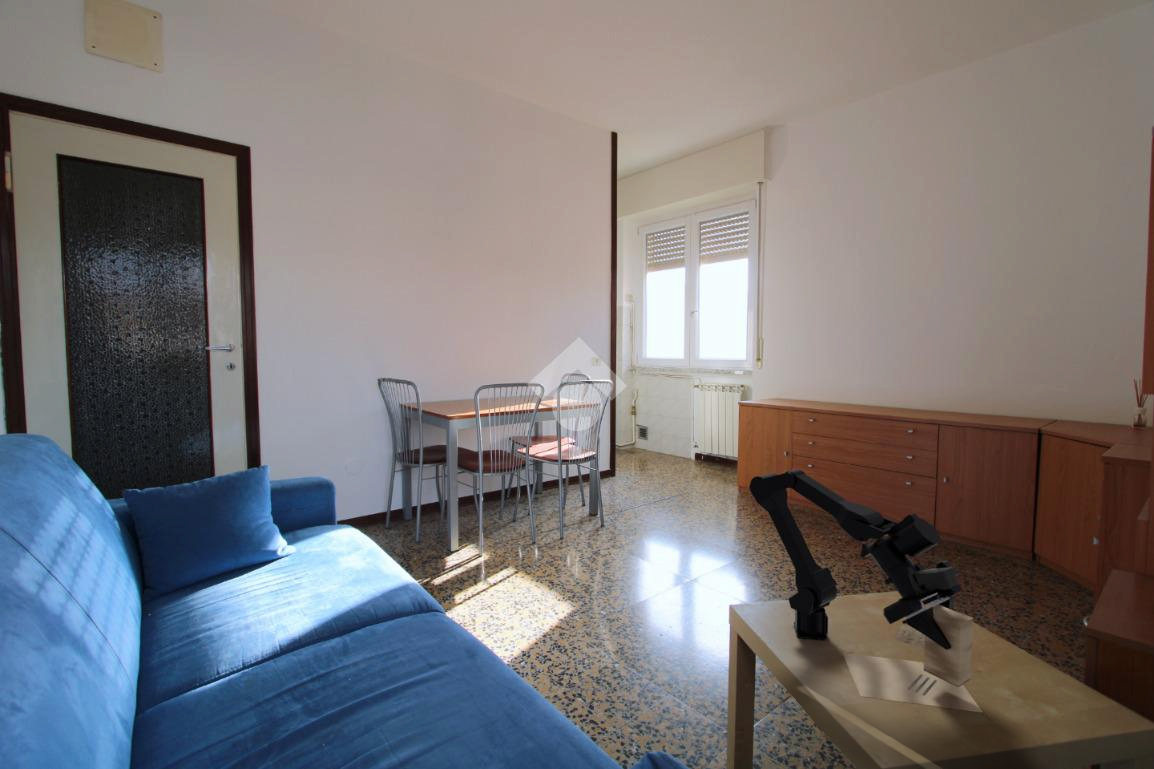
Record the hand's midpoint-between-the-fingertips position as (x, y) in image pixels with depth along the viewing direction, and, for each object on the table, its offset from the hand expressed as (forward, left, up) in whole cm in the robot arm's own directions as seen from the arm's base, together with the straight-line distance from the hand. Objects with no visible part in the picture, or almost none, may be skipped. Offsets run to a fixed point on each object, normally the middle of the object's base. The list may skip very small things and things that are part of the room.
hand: (955, 645), depth 100 cm
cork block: (-1, +1, -7) cm, 7 cm away
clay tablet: (+2, +21, -12) cm, 24 cm away
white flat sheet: (-7, +3, -11) cm, 14 cm away
